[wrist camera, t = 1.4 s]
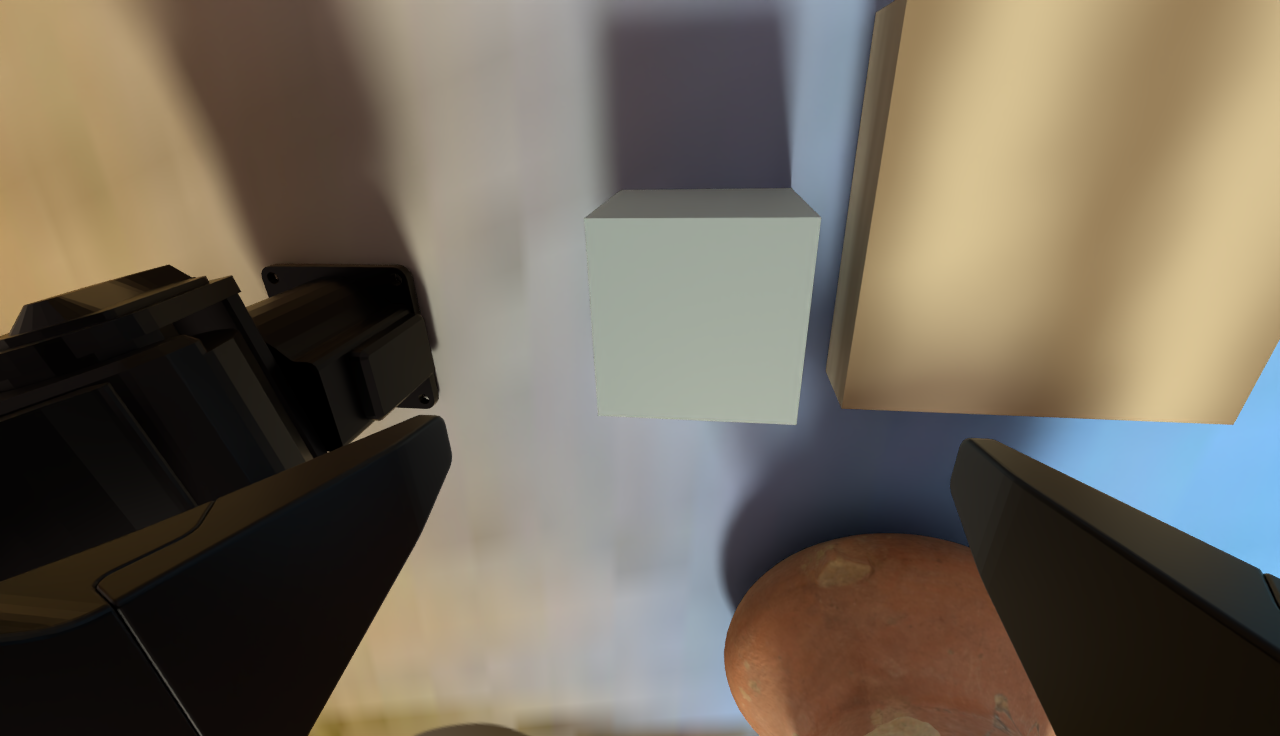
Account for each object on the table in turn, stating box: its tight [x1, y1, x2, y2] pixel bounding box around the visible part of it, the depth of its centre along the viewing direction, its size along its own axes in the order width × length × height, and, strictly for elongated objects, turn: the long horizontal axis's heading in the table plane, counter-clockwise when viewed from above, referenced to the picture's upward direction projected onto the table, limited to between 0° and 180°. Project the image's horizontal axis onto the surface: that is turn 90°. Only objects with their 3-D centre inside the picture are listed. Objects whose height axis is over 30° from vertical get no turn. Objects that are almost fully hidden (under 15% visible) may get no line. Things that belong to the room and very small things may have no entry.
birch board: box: [826, 0, 1280, 425], centre depth 16 cm, size 12×12×3 cm
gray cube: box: [584, 188, 821, 425], centre depth 17 cm, size 6×6×6 cm
